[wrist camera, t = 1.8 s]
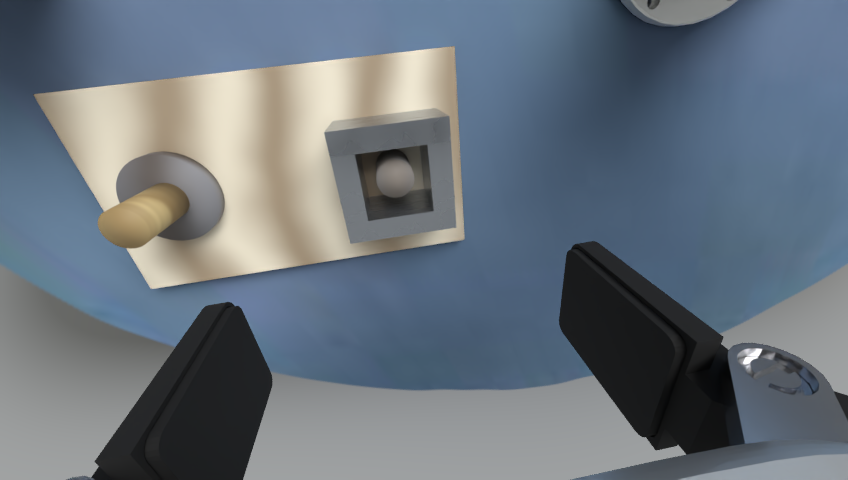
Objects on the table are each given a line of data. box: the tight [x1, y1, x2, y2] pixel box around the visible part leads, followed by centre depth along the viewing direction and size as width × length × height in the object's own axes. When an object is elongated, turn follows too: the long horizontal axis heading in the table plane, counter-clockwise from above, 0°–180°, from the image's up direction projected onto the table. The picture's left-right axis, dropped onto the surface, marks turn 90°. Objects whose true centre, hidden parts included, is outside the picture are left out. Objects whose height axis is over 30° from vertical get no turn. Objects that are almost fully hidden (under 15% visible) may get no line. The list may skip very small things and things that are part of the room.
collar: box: [324, 108, 457, 244], centre depth 22 cm, size 7×7×4 cm
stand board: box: [33, 46, 464, 289], centre depth 21 cm, size 25×14×7 cm, turn 96°
